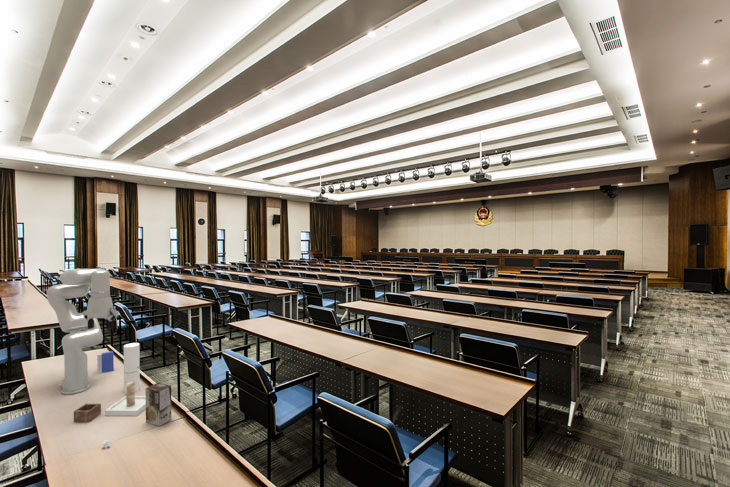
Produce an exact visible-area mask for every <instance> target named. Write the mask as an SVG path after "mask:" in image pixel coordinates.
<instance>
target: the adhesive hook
mask: <svg viewBox="0 0 730 487" xmlns="http://www.w3.org/2000/svg"><path fill="white" fill-rule="evenodd" d="M108 447H109V448H111V443H110V441H109V439H105V440H103V443H102V446H101V448H102V449H105V450H107V449H108Z"/></svg>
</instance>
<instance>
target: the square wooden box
mask: <svg viewBox="0 0 730 487" xmlns="http://www.w3.org/2000/svg"><path fill="white" fill-rule="evenodd" d="M101 414H102V404H101V403H84V404H83V405H81V406H80V407H78V408H77V409H75V410H74V411H73V423H90V422H92V421H94V420H95V419H96V418H97V417H99V416H100V415H101Z"/></svg>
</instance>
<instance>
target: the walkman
mask: <svg viewBox="0 0 730 487" xmlns="http://www.w3.org/2000/svg"><path fill="white" fill-rule="evenodd" d="M96 356H97V359H96V360H97V375H99V374H105V373H110V371H111V372H114V369H115V366H114V359H115V358H114V350H113V351H112V350H111V351H110V350H109V351H106V352H100V353H98V354H97V355H96Z"/></svg>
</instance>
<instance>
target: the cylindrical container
mask: <svg viewBox="0 0 730 487" xmlns="http://www.w3.org/2000/svg"><path fill="white" fill-rule="evenodd" d="M140 360H141V358H140V343H139V342H131V343H126V344H124V345H123V393H126V394H127V383H129V382H135V392H137V391H139V390H140V389H141V386H140V385H141V384H140V382H141V381H140V380H141V378H140V377H141V374H140V370H141V369H140V368H141V367H140V365H141V364H140V363H141V362H140Z"/></svg>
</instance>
